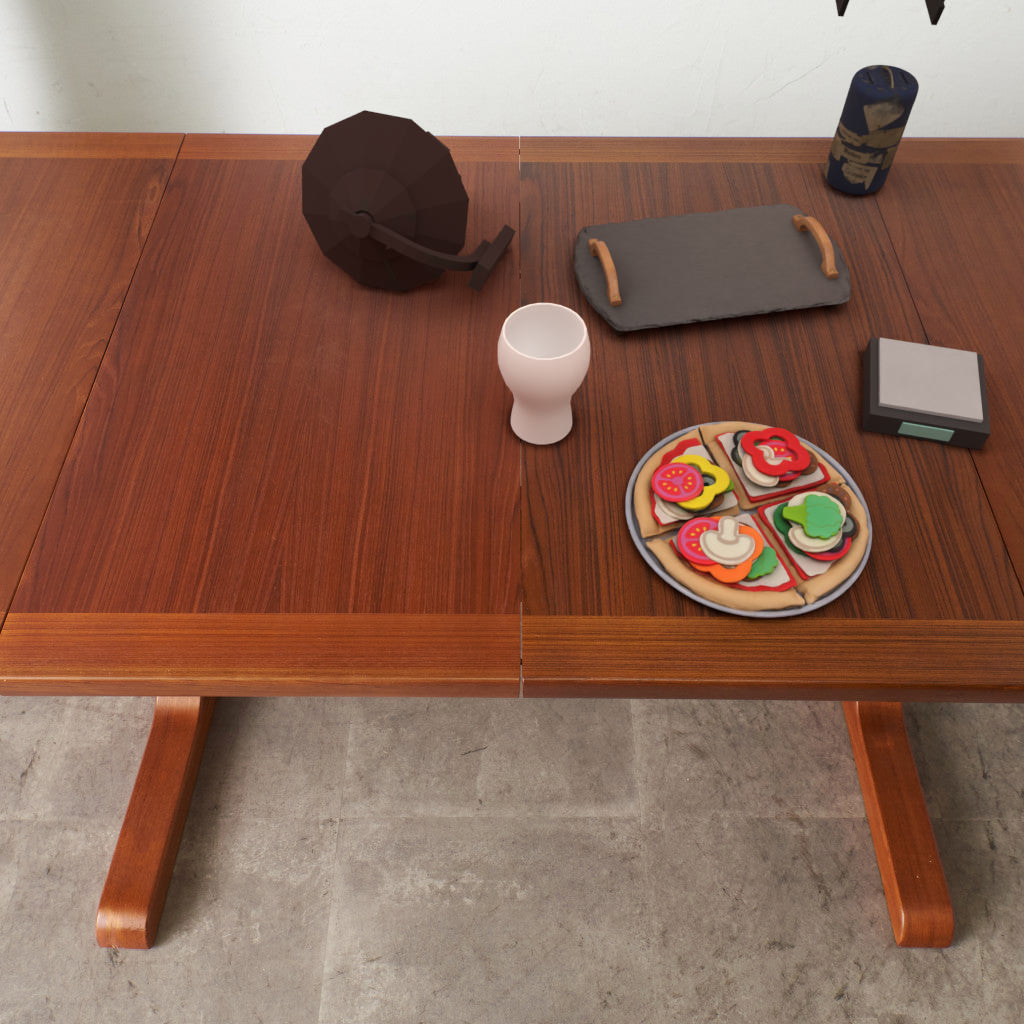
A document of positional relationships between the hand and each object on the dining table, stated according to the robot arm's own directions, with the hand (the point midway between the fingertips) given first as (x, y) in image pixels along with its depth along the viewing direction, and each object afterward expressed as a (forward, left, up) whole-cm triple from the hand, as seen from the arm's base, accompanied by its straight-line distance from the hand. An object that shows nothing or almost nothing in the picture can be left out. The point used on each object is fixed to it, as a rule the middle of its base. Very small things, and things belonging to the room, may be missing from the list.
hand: (891, 11), depth 129 cm
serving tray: (+19, +36, -23) cm, 47 cm away
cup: (+36, +69, -23) cm, 81 cm away
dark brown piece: (+60, +41, -23) cm, 76 cm away
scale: (-10, +54, -23) cm, 60 cm away
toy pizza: (+10, +78, -23) cm, 82 cm away
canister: (-1, +7, -23) cm, 24 cm away
